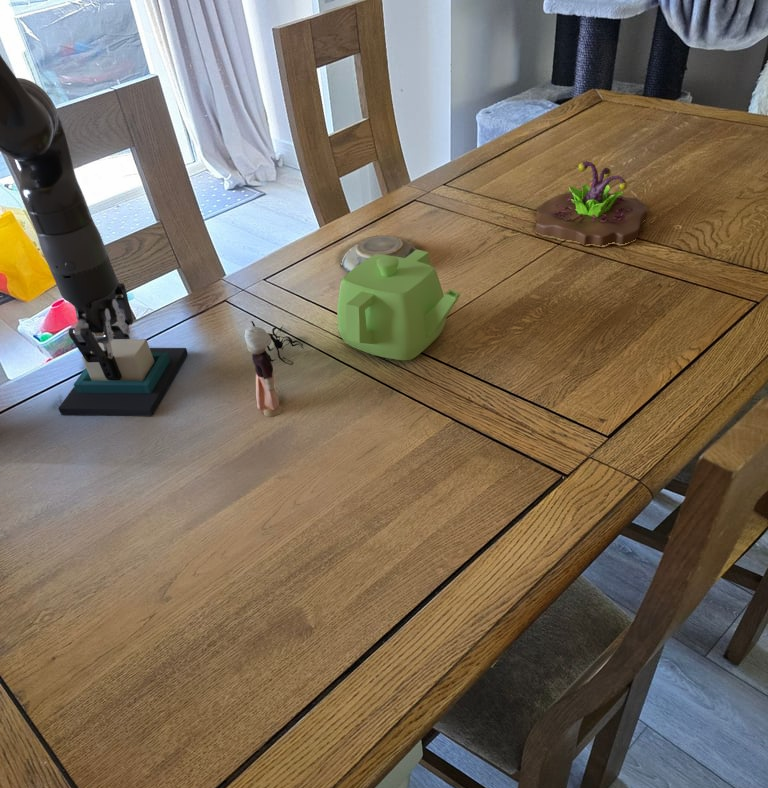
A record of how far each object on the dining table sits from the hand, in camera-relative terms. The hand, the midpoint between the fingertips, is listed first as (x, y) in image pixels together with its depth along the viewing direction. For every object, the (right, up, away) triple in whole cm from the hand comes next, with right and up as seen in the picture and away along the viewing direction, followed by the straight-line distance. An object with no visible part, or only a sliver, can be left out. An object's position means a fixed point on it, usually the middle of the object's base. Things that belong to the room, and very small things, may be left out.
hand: (121, 368), depth 103 cm
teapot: (+42, +4, +4) cm, 43 cm away
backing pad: (0, -2, +2) cm, 3 cm away
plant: (+78, +33, +29) cm, 89 cm away
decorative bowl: (+38, +24, +24) cm, 51 cm away
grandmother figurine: (+23, -7, -5) cm, 25 cm away
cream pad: (0, 0, 0) cm, 1 cm away
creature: (+23, +3, +5) cm, 23 cm away
